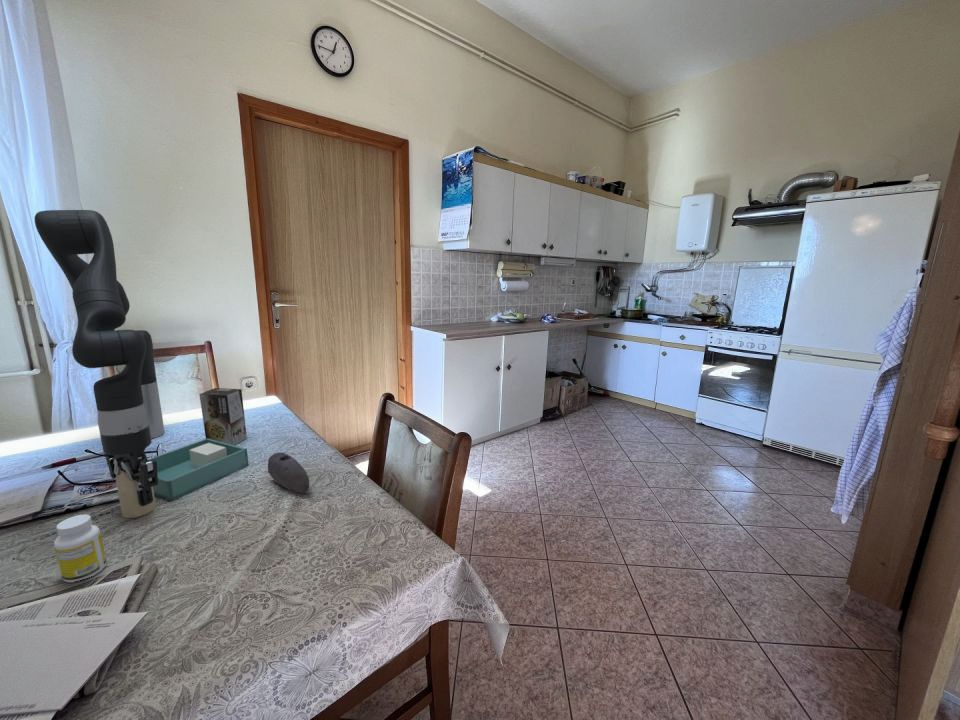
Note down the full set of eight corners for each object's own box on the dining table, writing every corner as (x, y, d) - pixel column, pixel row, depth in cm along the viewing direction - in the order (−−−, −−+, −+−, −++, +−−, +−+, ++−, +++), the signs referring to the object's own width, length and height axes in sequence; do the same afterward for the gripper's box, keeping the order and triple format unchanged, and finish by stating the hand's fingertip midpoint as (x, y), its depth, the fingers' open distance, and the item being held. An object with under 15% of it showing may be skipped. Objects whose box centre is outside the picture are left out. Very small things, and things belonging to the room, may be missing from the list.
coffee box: (248, 437, 122) (242, 388, 118) (233, 446, 116) (227, 394, 112) (221, 436, 123) (215, 387, 119) (205, 444, 116) (198, 393, 113)
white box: (191, 465, 102) (189, 449, 101) (210, 457, 106) (208, 442, 105) (209, 471, 99) (206, 455, 98) (227, 463, 104) (226, 447, 103)
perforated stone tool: (317, 493, 92) (315, 466, 91) (295, 502, 88) (293, 474, 87) (287, 472, 101) (285, 448, 100) (266, 480, 97) (264, 454, 96)
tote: (129, 485, 93) (126, 467, 92) (209, 453, 110) (207, 438, 109) (170, 501, 87) (167, 481, 86) (248, 465, 104) (246, 448, 103)
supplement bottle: (82, 561, 69) (72, 512, 67) (115, 560, 69) (105, 511, 67) (52, 584, 63) (39, 532, 61) (88, 583, 64) (76, 531, 62)
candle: (162, 506, 85) (155, 465, 83) (133, 521, 80) (125, 477, 78) (145, 501, 87) (138, 460, 85) (116, 515, 82) (107, 472, 80)
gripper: (81, 427, 79) (96, 501, 82) (122, 439, 73) (136, 518, 77) (126, 415, 85) (138, 484, 89) (166, 426, 80) (177, 499, 84)
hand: (137, 500), depth 83 cm, fingers open, 5 cm apart
